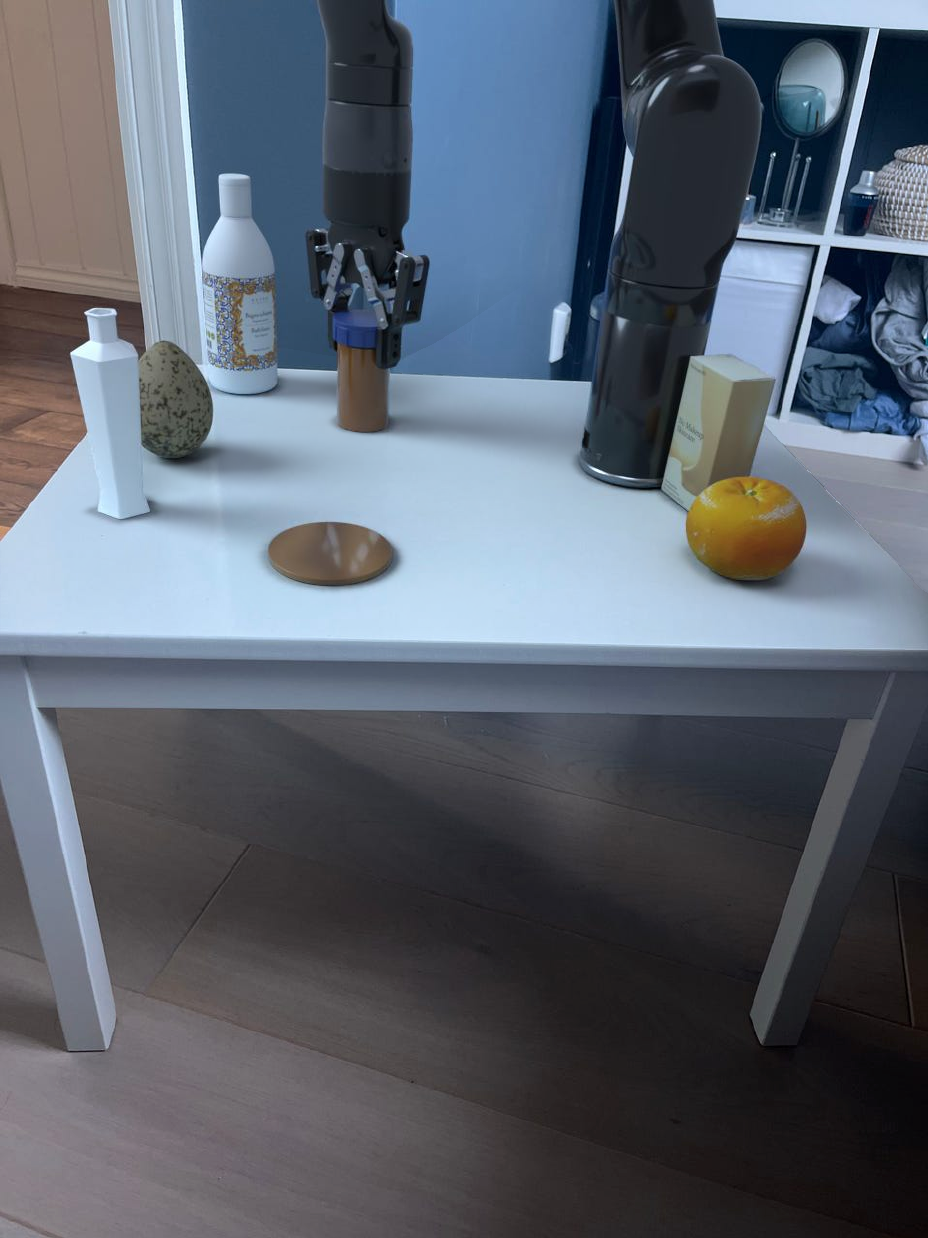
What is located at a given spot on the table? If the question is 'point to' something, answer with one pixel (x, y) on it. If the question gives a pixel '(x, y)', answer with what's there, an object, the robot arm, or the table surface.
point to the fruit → (746, 528)
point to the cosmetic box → (716, 425)
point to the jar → (361, 390)
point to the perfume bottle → (112, 414)
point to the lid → (355, 328)
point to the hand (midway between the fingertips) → (363, 357)
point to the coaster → (330, 553)
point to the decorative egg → (172, 402)
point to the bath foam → (239, 296)
